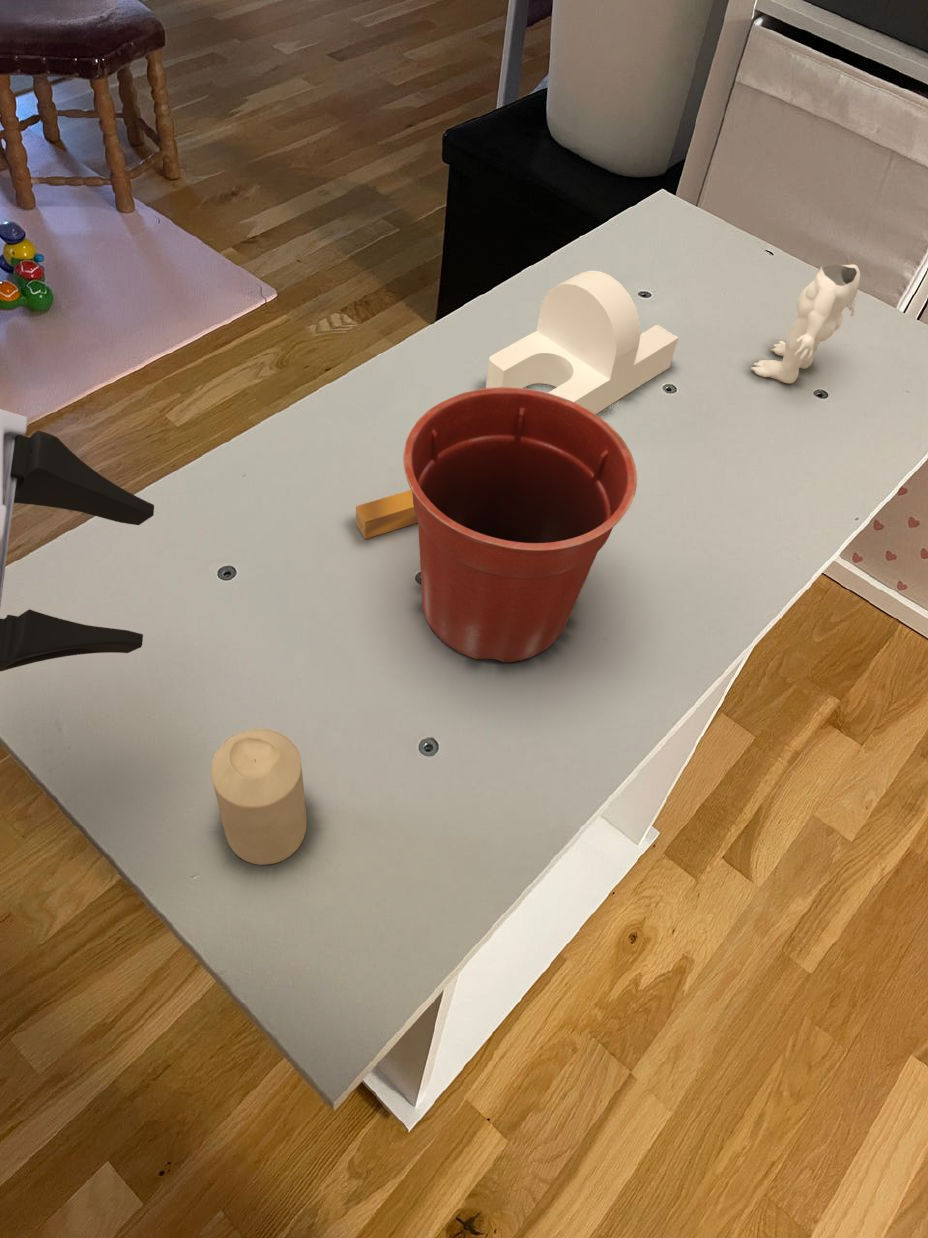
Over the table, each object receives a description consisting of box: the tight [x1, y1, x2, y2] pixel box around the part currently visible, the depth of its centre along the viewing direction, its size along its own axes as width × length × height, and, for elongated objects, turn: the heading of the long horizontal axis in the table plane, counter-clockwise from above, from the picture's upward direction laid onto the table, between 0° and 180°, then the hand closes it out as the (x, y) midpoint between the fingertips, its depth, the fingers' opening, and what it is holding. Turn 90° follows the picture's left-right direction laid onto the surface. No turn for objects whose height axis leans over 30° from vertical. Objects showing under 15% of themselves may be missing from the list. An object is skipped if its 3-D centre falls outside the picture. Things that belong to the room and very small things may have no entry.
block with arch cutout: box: [485, 270, 679, 415], centre depth 97 cm, size 18×10×11 cm, turn 134°
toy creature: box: [750, 263, 861, 384], centre depth 100 cm, size 12×6×12 cm, turn 141°
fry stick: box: [355, 489, 418, 540], centre depth 87 cm, size 14×2×2 cm, turn 117°
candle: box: [210, 728, 308, 866], centre depth 64 cm, size 6×6×10 cm
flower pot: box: [402, 387, 638, 663], centre depth 76 cm, size 16×16×16 cm
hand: (141, 578), depth 56 cm, fingers open, 7 cm apart
